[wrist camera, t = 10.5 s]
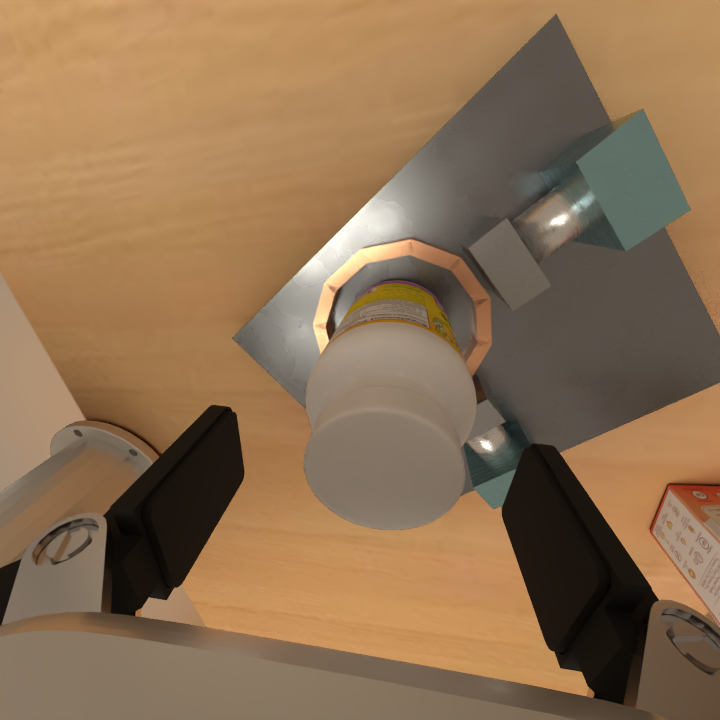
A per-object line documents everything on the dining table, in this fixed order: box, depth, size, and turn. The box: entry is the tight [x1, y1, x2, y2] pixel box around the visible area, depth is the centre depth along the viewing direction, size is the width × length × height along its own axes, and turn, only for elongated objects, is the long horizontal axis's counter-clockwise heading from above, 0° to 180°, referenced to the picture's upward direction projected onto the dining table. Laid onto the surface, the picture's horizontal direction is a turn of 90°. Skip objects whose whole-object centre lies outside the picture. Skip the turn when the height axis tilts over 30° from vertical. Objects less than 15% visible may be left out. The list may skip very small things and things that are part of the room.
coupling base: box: [232, 14, 720, 509], centre depth 19 cm, size 24×22×5 cm
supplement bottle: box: [304, 280, 477, 530], centre depth 14 cm, size 7×7×13 cm
